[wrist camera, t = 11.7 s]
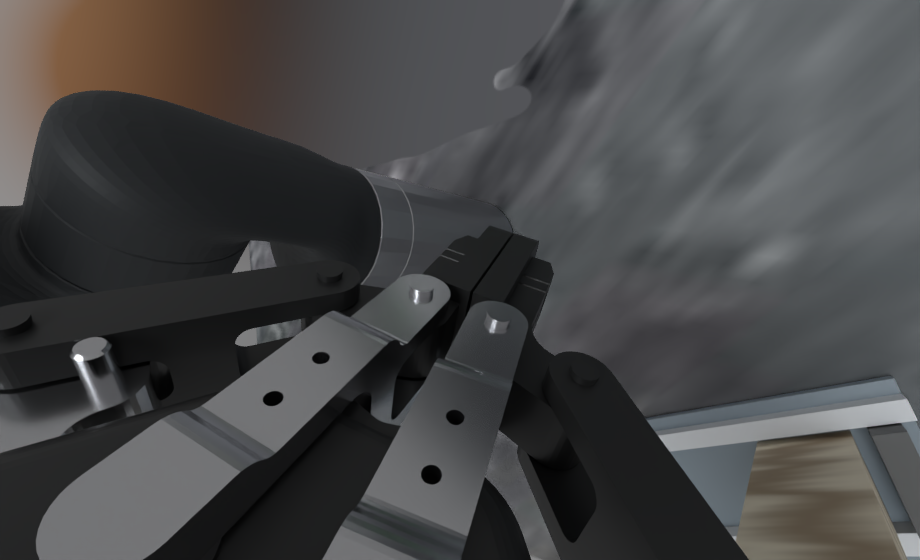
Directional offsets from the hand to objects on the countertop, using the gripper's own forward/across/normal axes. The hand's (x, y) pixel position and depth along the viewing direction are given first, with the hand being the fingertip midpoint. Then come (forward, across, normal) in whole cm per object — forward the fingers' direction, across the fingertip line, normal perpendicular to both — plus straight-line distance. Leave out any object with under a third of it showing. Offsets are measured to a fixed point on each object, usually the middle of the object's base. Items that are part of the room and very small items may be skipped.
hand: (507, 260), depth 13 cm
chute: (+15, -17, +19) cm, 30 cm away
